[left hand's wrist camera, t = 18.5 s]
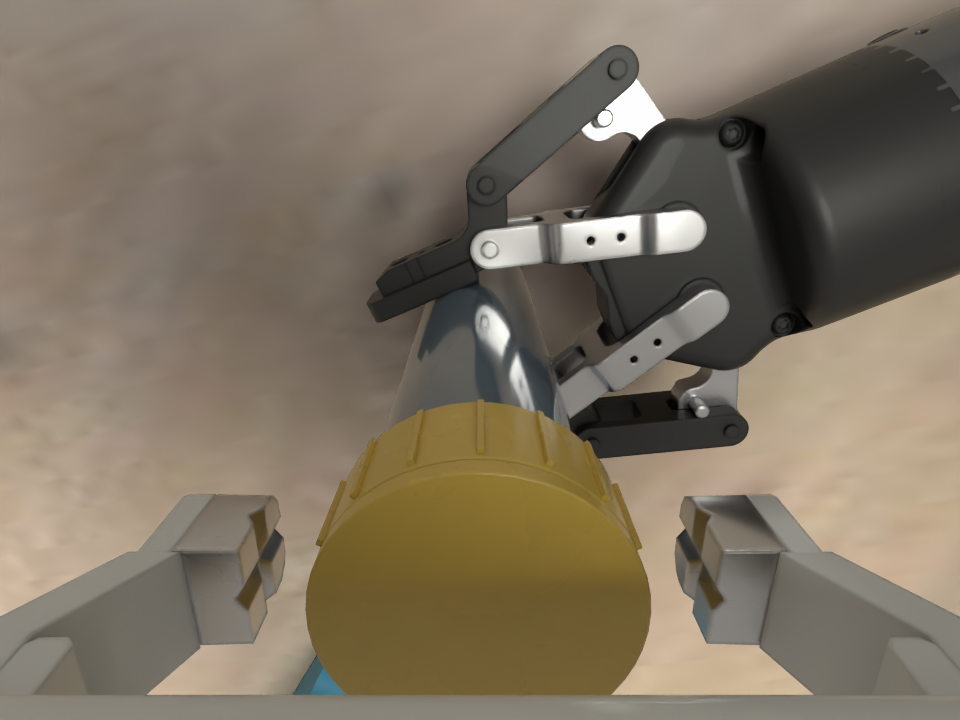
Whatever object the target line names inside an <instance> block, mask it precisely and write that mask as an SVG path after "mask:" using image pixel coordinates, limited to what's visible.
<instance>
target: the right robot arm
mask: <svg viewBox="0 0 960 720" xmlns="http://www.w3.org/2000/svg"><path fill="white" fill-rule="evenodd" d="M638 72H639V62H638V58H637V56H636V54H635V53H634V52H633V51H632V50H631V49H630V48H629V47H626V46H623V45H614V46H611V47H609V48H607V49H606V50H605V51H603V52H602V53H600V54H599V55H597V56H596V57H594V58H593V59H592V60H590V61H589V62H588V63H587V64H586V65H585V66H583V67H582V68H581V69H580V70H579V71H578V72H577V73H576V74H575V75H574V76H572V77H571V78H570V79H569V80H568V81H567V82H566V83H565V84H564V85H562V86H561V87H560V88H559V89H558V90H557V91H556V92H555V93H554V94H552V95H551V96H550V97H549V98H548V99H547V100H546V101H545V102H544V103H542V104H541V105H540V106H539V107H538V108H537V109H536V110H535V111H534V112H533V113H531V114H530V115H529V116H528V117H527V118H526V119H525V120H524V121H523V122H521V123H520V124H519V125H518V126H517V127H516V128H515V129H514V130H513V131H511V132H510V133H509V134H508V135H507V136H506V137H505V138H504V139H503V140H501V141H500V142H499V143H498V144H497V145H496V146H495V147H494V148H493V149H492V150H490V151H489V152H488V153H487V154H486V155H485V156H484V157H483V158H482V159H480V160H479V161H478V162H477V163H476V164H475V165H474V166H473V167H472V168H471V170H470V171H469V174H468V177H467V181H466V189H467V201H468V216H469V217H468V222H467V224H466V226H465V227H464V228H463V230H462V231H460V232H459V233H457V234H456V235H453V236H451V237H449V238H447V239H444V240H442V241H440V242H438V243H435V244H433V245H431V246H428V247H426V248H424V249H422V250H420V251H417V252H415V253H412V254H410V255H408V256H406V257H403V258H401V259H399V260H397V261H394V262H393V263H392V264H391V265H390V266H389V267H388V268H387V269H386V270H385V271H384V272H383V273H382V275H381V276H380V277H379V279H378V280H377V282H376V284H377V286H378V288H379V290H377V291H375V292H374V293H373V294H372V296H371V297H370V299H369V300H368V302H367V305H368V307H369V309H370V311H371V313H372V315H373V317H374V319H375V321H376V322H377V323H378V322H383V321H386V320H388V319H390V318H393V317H395V316H397V315H400V314H402V313H404V312H407V311H409V310H412V309H414V308H416V307H419V306H421V305H423V304H426V303H428V302H430V301H433V300H435V299H437V298H440V297H442V296H444V295H447V294H449V293H450V292H453V291H455V290H458V289H461V288H463V287H466V286H468V285H470V284H473V283H475V282H477V281H479V272H480V271H482V270H485V269H496V268H504V267H513V266H521V265H530V264H538V263H550V264H568V263H577V262H582V265H583V266H584V268H585V269H586V270H587V272H588V273H589V274H590V276H591V277H592V278H593V280H594V281H595V283H596V293H597V305H598V308H599V310H600V313H601V317H600V318H599V319H597V320H596V321H595V322H593V323H592V324H591V325H589V326H588V327H587V328H585V329H584V330H583V331H582V332H581V333H580V334H579V336H578V337H577V340H576V341H575V342H574V343H573V344H572V345H571V346H570V347H568V348H567V349H566V350H564V351H563V352H562V353H560V354H559V355H558V356H556V357H555V358H554V359H552V360H551V361H552V365H553V368H554V371H555V374H556V377H557V380H558V383H559V387H560V390H561V393H562V396H563V399H564V402H565V405H566V409H567V412H568V415H569V418H570V421H571V424H572V427H573V431H574V434H575V435H576V436H578V437H579V438H580V439H581V440H582V441H583V442H585V441H586V440H588V441H589V442H590V443H591V445H592V448H593V451H594V454H595V455H596V456H597V458H598V459H600V458H611V457H621V456H631V455H642V454H652V453H662V452H673V451H683V450H693V449H704V448H714V447H724V446H733V445H736V444H738V443H740V442H741V441H743V440H744V438H745V437H746V436H747V433H748V429H749V427H748V423H747V421H746V420H745V419H744V418H743V417H742V416H741V414H740V413H739V412H738V410H737V393H738V371H739V368H740V367H742V366H744V365H745V364H747V363H748V362H750V361H751V360H752V359H753V358H754V357H755V356H756V355H757V354H758V353H759V352H760V351H761V350H762V349H763V348H764V347H766V346H767V345H768V344H770V343H771V342H773V341H774V340H776V339H778V338H781V337H784V336H787V335H791V334H796V333H800V332H805V331H809V330H813V329H817V328H820V327H823V326H825V325H828V324H831V323H833V322H836V321H838V320H841V319H844V318H846V317H849V316H852V315H854V314H857V313H859V312H862V311H865V310H867V309H870V308H873V307H875V306H878V305H880V304H883V303H886V302H888V301H891V300H894V299H896V298H899V297H901V296H904V295H907V294H909V293H912V292H915V291H917V290H920V289H922V288H925V287H928V286H930V285H933V284H936V283H938V282H941V281H943V280H946V279H949V278H951V277H954V276H956V275H959V274H960V7H958V8H955V9H953V10H950V11H948V12H945V13H943V14H940V15H938V16H935V17H933V18H931V19H928V20H926V21H924V22H921V23H919V24H917V25H915V26H912V27H910V28H908V27H907V28H903V29H900V30H894V31H891V32H889V33H887V34H885V35H883V36H881V37H879V38H877V39H875V40H874V41H872V42H870V43H869V44H868V45H867V46H866V47H865V48H863V49H860V50H858V51H856V52H853V53H851V54H849V55H847V56H844V57H842V58H840V59H838V60H835V61H833V62H831V63H829V64H826V65H824V66H822V67H819V68H817V69H815V70H813V71H810V72H808V73H806V74H804V75H801V76H799V77H797V78H795V79H792V80H790V81H788V82H786V83H783V84H781V85H779V86H777V87H774V88H772V89H770V90H768V91H765V92H763V93H761V94H758V95H756V96H754V97H752V98H749V99H747V100H745V101H743V102H740V103H738V104H736V105H734V106H731V107H729V108H727V109H725V110H722V111H720V112H718V113H716V114H713V115H711V116H708V117H705V118H702V119H698V120H689V119H683V118H673V119H664V117H663V116H662V115H661V113H660V112H659V110H658V109H657V107H656V106H655V104H654V103H653V102H652V100H651V99H650V97H649V96H648V94H647V93H646V91H645V90H644V89H643V87H642V86H641V84H640V83H639V81H638V80H637V76H638ZM578 132H579V134H580V135H581V136H582V137H584V138H585V139H588V140H593V141H601V140H605V139H608V138H609V137H611V136H613V135H614V134H616V133H624V134H626V135H628V136H629V137H630V138H631V139H632V142H631V143H630V145H629V146H628V148H627V149H626V151H625V153H624V154H623V156H622V157H621V159H620V160H619V162H618V163H617V165H616V167H615V168H614V170H613V171H612V173H611V174H610V176H609V178H608V179H607V181H606V182H605V184H604V185H603V187H602V188H601V190H600V192H599V193H598V195H597V196H596V198H595V199H594V201H593V203H592V204H591V205H588V206H580V207H572V208H563V209H555V210H547V211H542V212H539V213H536V214H529V215H521V216H513V217H507V194H508V193H509V192H511V191H512V190H513V189H514V188H515V187H516V186H517V185H519V184H520V183H521V182H522V181H523V180H524V179H525V178H527V177H528V176H529V175H530V174H531V173H532V172H533V171H535V170H536V169H537V168H538V167H539V166H540V165H541V164H543V163H544V162H545V161H546V160H547V159H548V158H550V157H551V156H552V155H553V154H554V153H555V152H556V151H558V150H559V149H560V148H561V147H562V146H563V145H564V144H566V143H567V142H568V141H569V140H570V139H571V138H572V137H574V136H575V135H576V134H577V133H578ZM632 356H633V357H632ZM663 359H667V360H672V361H676V362H681V363H686V364H690V365H695V366H700V367H701V368H700V370H699V371H698V372H697V373H696V374H694V375H693V376H691V377H687V378H683V379H679V380H677V381H676V382H675V384H674V386H673V387H672V389H671V391H661V392H651V393H642V394H632V395H622V396H612V397H602V398H599V397H601V396H602V395H603V394H605V393H607V392H610V391H611V392H616V391H619V390H621V389H623V388H624V387H626V386H627V385H629V384H630V383H631V382H633V381H634V380H636V379H637V378H638V377H640V376H641V375H643V374H644V373H645V372H647V371H648V370H649V369H651V368H652V367H654V366H655V365H656V364H658V363H659V362H661V361H662V360H663Z"/></svg>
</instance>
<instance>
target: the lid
mask: <svg viewBox="0 0 960 720" xmlns="http://www.w3.org/2000/svg"><path fill="white" fill-rule="evenodd" d="M316 545H318V546H321V548H320V550H319V553H318V556H317V558H316V561H315V563H314V566H313V568H312V571H311V574H310V578H309V583H308V587H307V591H306V618H307V626H308V631H309V634H310V638H311V641H312V645H313V647H314V650H315V652H316V654H317V656H318V658H319V660H320V662H321V664H322V665H323V667H324V668H325V670H326V672H327V673H328V675H329V676H330V677H331V679H332V680H333V681H334V682H335V683H336V684H337V686H338V687H339V688H340V689H341V690H342V691H343V692H344V693H345V694H346V695H611V694H612V693H613V692H614V691H615V690H616V689H617V688H618V687H619V686H620V684H621V683H622V682H623V681H624V680H625V679H626V677H627V676H628V674H629V673H630V671H631V670H632V669H633V667H634V666H635V664H636V662H637V660H638V658H639V656H640V654H641V652H642V650H643V647H644V644H645V641H646V638H647V634H648V631H649V624H650V617H651V594H650V589H649V584H648V578H647V575H646V572H645V570H644V567H643V564H642V562H641V559H640V556H639V554H638V551H637V550H638V549H641V548H642V545H641V543H640V540H639V537H638V535H637V532H636V530H635V527H634V525H633V522H632V520H631V517H630V515H629V512H628V510H627V507H626V505H625V502H624V500H623V497H622V494H621V492H620V489H619V487H618V484H617V483H615V484H612V483H611V480H610V477H609V476H608V474H607V472H606V470H605V468H604V467H603V465H602V463H601V462H600V460H599V459H598V458H597V456H596V455H595V454H594V451H593V448H592V445H591V443H590V442H589V441H588V440H586V441H585V442H583V441H582V440H581V439H580V438H579V437H578V436H576V435H575V434H574V433H572V432H571V431H570V430H568V429H567V428H566V427H564V426H563V425H561V424H559V423H557V422H555V421H553V420H552V419H550V418H548V417H546V416H544V413H543V412H542V411H539V410H537V412H533V411H531V410H528V409H524V408H520V407H516V406H512V405H507V404H499V403H492V402H484V400H482V399H478V400H477V402H467V403H458V404H450V405H446V406H441V407H437V408H433V409H430V410H427V411H424V410H423V409H421V410H418V411H417V414H416V415H413V416H411V417H410V418H408V419H406V420H404V421H402V422H400V423H398V424H396V425H395V426H393V427H392V428H391V429H389V430H388V431H386V432H385V433H383V434H382V435H381V436H380V437H379V438H378V439H376V440H375V439H374V438H372V439H371V440H370V441H369V442H368V445H367V448H366V450H365V452H364V453H363V454H362V455H361V457H360V458H359V459H358V461H357V462H356V464H355V466H354V467H353V469H352V471H351V472H350V474H349V476H348V479H347V481H343V480H341V483H340V485H339V488H338V490H337V493H336V495H335V498H334V500H333V502H332V505H331V507H330V510H329V512H328V515H327V517H326V520H325V522H324V525H323V527H322V530H321V532H320V535H319V537H318V540H317V542H316Z"/></svg>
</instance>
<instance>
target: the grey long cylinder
mask: <svg viewBox="0 0 960 720" xmlns="http://www.w3.org/2000/svg"><path fill="white" fill-rule="evenodd" d="M478 399H482V400H484V402H492V403H499V404H507V405H512V406H516V407H520V408H524V409H528V410H531V411H533V412H537V410H539V411H542V412H543V413H544V416H546V417H548V418H550V419H552V420H553V421H555V422H557V423H559V424H561V425H563V426H564V427H566V428H567V429H568V430H570V431H571V432H572V433H574V431H573V427H572V424H571V421H570V418H569V415H568V412H567V409H566V405H565V402H564V399H563V396H562V393H561V390H560V387H559V383H558V380H557V377H556V374H555V371H554V368H553V365H552V361H551V358H550V355H549V352H548V349H547V346H546V343H545V339H544V336H543V333H542V330H541V327H540V324H539V321H538V317H537V314H536V311H535V308H534V305H533V302H532V299H531V295H530V292H529V289H528V286H527V283H526V280H525V277H524V274H523V272H522V270H521V268H520V266H513V267H504V268H496V269H485V270H482V271H480V272H479V281H477V282H475V283H473V284H470V285H468V286H466V287H463V288H461V289H458V290H455V291H453V292H450V293H449V294H447V295H444V296H442V297H440V298H437V299H435V300H433V301H430V302H428V303H426V304H425V307H424V311H423V314H422V317H421V320H420V323H419V326H418V329H417V332H416V335H415V338H414V341H413V344H412V347H411V350H410V354H409V357H408V360H407V363H406V366H405V369H404V372H403V375H402V378H401V381H400V384H399V387H398V390H397V393H396V396H395V400H394V403H393V406H392V409H391V412H390V415H389V418H388V421H387V424H386V427H385V430H384V433H385V432H386V431H388V430H389V429H391V428H392V427H393V426H395V425H396V424H398V423H400V422H402V421H404V420H406V419H408V418H410V417H411V416H413V415H416V414H417V411H418V410H421V409H423V410H424V411H427V410H430V409H433V408H437V407H441V406H446V405H450V404H458V403H467V402H477V400H478Z"/></svg>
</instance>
